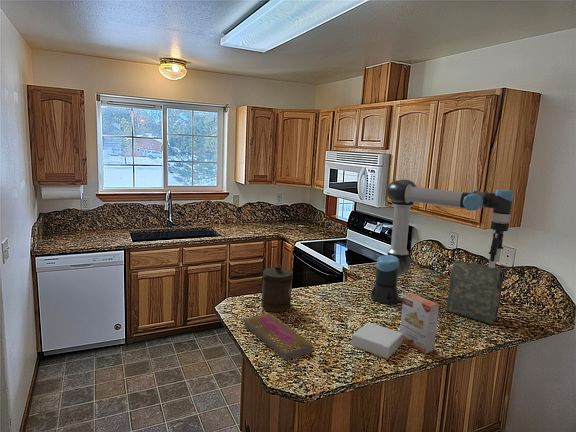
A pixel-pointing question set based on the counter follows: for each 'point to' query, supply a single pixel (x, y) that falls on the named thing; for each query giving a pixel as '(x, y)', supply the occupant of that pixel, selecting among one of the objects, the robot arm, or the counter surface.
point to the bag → (475, 291)
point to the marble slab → (377, 340)
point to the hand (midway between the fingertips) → (493, 264)
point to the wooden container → (276, 289)
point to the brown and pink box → (278, 335)
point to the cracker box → (419, 322)
